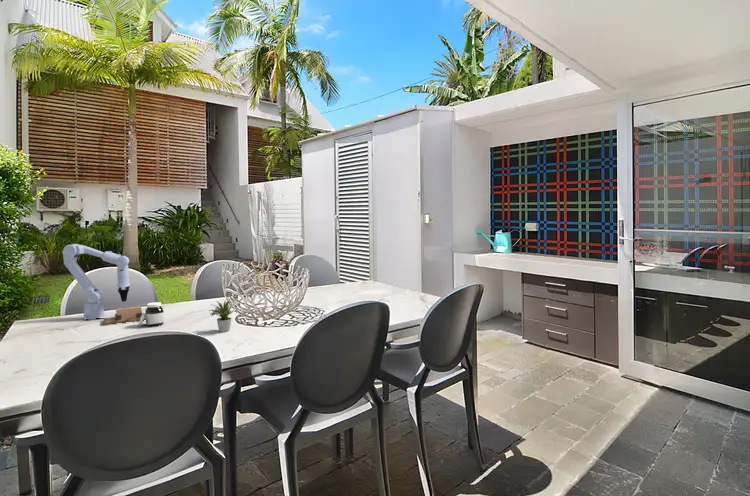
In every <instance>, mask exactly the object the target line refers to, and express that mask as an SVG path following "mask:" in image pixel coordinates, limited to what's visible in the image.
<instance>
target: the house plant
mask: <svg viewBox="0 0 750 496" xmlns="http://www.w3.org/2000/svg"><path fill="white" fill-rule="evenodd" d="M225 301H226V300H224V301H223V302H224V306H222V304H221V303H222V302H219V301H218V300H216V302H217V304H218V305H219V307H220V308H221V309H220V308H219V307H218V305H215V304H213V303H211V306H213V307H215V308H216V307H217V308H218V309H219V310H220V311H219V310H218V309H217V310H215V309H208V311H211V312H213V313H211V315H210V316H211V317H212V316H214V315H216V316H218V317H217V318H216V322H217V328H218V331H219V333H228V332H230V330H231V324H232V317H230V316H229V315H231V314H230V313H231V312H229V310H230V309H231V307H232V306H233V305H231V306H230V305H229V302H230V300H229V301H227V302H226V305H225ZM231 302H232V301H231ZM230 304H231V303H230ZM232 304H233V303H232ZM228 305H229V306H230V308H229V307H228ZM228 309H229V310H228ZM215 312H217V313H219V314H214V313H215ZM232 312H233V311H232ZM233 313H234V312H233Z"/></svg>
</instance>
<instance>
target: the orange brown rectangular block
mask: <svg viewBox="0 0 750 496" xmlns="http://www.w3.org/2000/svg"><path fill="white" fill-rule="evenodd" d="M141 311H142V306H131V307H120V308H119V307H118V308H116V309H115V314H116V315H121V319H128V318H136V313H141Z"/></svg>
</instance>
